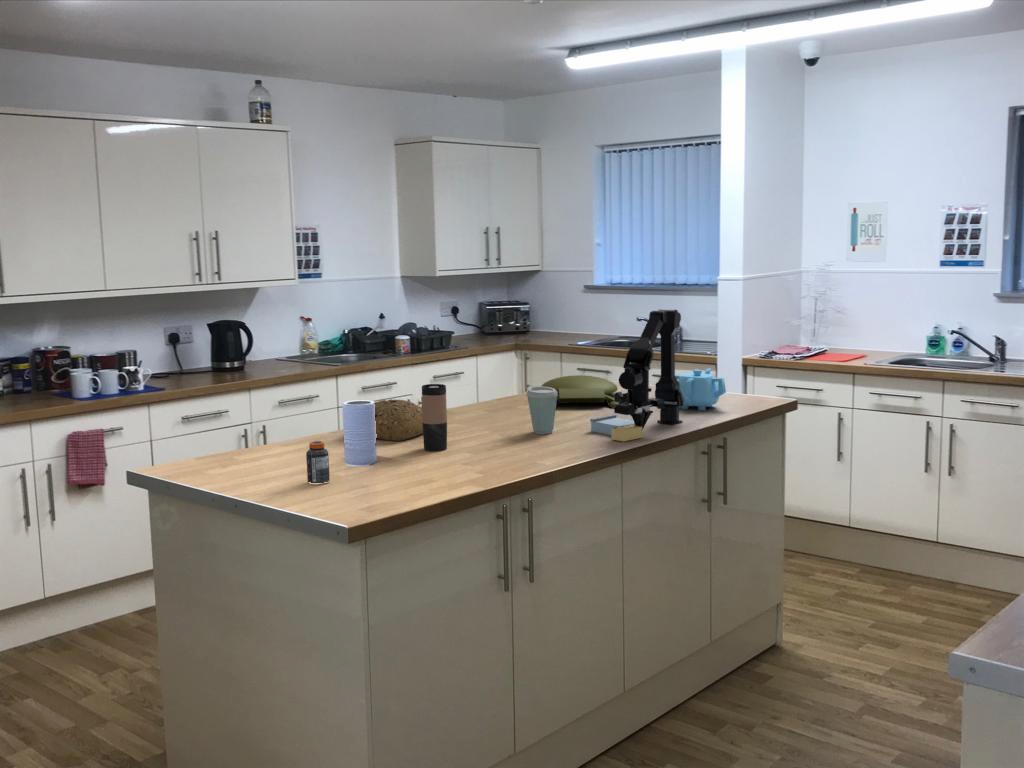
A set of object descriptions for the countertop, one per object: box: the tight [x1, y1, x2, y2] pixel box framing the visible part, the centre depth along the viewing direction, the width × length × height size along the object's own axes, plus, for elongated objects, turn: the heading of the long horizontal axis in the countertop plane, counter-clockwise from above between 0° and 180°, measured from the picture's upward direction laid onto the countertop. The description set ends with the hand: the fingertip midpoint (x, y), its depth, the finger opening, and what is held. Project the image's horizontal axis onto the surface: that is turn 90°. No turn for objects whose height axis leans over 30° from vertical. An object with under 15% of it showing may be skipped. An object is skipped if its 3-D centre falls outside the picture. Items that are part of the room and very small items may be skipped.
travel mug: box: [421, 383, 448, 452], centre depth 310 cm, size 8×8×20 cm
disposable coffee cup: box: [525, 385, 558, 435], centre depth 334 cm, size 11×11×15 cm
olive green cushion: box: [541, 374, 619, 409], centre depth 393 cm, size 35×31×10 cm
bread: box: [373, 399, 423, 442], centre depth 334 cm, size 24×21×12 cm
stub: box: [611, 425, 643, 442], centre depth 322 cm, size 9×5×4 cm, turn 131°
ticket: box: [589, 414, 635, 436], centre depth 334 cm, size 11×14×4 cm
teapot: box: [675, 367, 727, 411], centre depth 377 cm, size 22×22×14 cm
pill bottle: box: [305, 440, 331, 483], centre depth 272 cm, size 6×6×11 cm
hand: (639, 432), depth 326 cm, fingers closed
